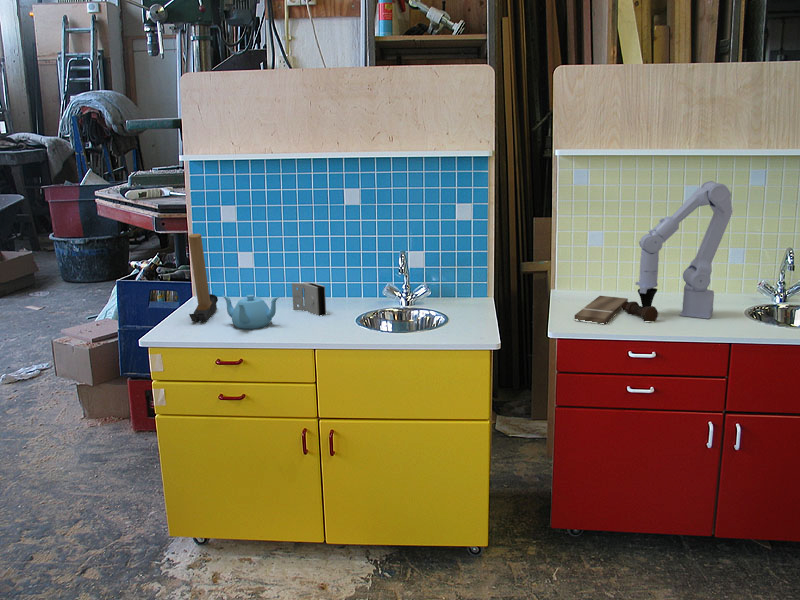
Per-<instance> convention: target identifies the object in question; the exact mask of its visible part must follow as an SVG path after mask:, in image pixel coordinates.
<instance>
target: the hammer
mask: <svg viewBox="0 0 800 600" xmlns="http://www.w3.org/2000/svg"><path fill="white" fill-rule="evenodd" d="M188 243H189V250H190V256H191V262H192V263H191V265H192V271H193V279H194V284H195V290H196V291H195V292H196V299H197V306H196V308H195V310H194V311H193V313H189V314H188V315H189V318H190V319H191V322H209V320H210V319H211V318H212V317H213V316H214V315H215V312H216V311H217V310H218V307H217V306H218V305H217V303H218V301H219V299H218V298H219V297H218V296H217V295H215V294H211V293H210V290H209V283H208V282H209V281H208V273H207V268H206V260H205V255H204V254H205V253H204V245H203V237H202V234H201V233H191V234H189V235H188ZM212 315H213V316H212ZM211 316H212V317H211ZM210 317H211V318H210ZM209 318H210V319H209ZM208 319H209V320H208Z"/></svg>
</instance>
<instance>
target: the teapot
mask: <svg viewBox="0 0 800 600" xmlns="http://www.w3.org/2000/svg"><path fill="white" fill-rule="evenodd" d="M221 296H222V298H223V299H224V300H225V302H226V311H227V314H228V316H229V317H230V318H231V323H232V324H233V325H234V326H235V327H236V328H238V329H242V330H256V329H262V328H265V327H267V326H268V325H269V324H270V323H271V321H272V319H273V318H274V317H275V314H276V311H277V307H276V303H277V301H278V299H280V296H276V297H273V298H272V299H271V302H270V303H271V304H270V307H269V306H268V304H267V302H265V300H264V299H263V298H261V297H260V296H255V295H254V294H247V295H246V296H245V297H244V298H240V299H239V300H238V302H237V303H236V305H235V306H234V307H233V305H232V301H231V298H230V297H229V296H227V295H224V294H221Z"/></svg>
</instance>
